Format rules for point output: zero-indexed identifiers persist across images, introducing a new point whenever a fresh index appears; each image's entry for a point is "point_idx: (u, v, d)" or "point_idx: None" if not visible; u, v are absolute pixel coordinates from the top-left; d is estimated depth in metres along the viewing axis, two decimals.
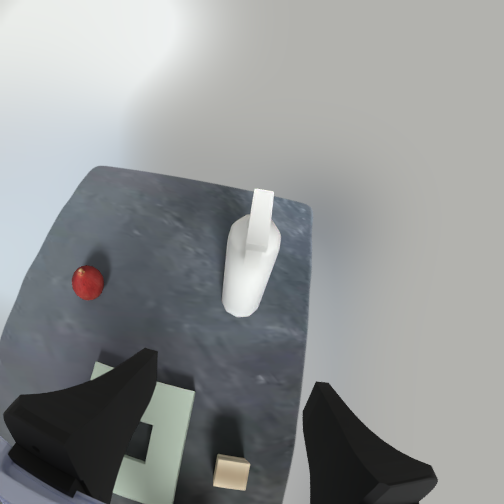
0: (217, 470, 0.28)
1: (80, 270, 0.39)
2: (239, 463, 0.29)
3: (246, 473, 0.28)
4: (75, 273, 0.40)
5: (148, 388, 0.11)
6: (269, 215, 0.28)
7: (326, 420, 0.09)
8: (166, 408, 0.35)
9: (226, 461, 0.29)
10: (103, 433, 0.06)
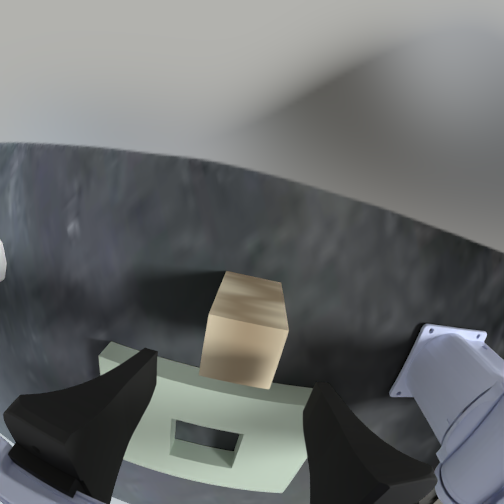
0: (228, 379, 0.15)
1: None
2: (207, 336, 0.14)
3: (236, 324, 0.14)
4: None
5: (148, 388, 0.11)
6: None
7: (326, 420, 0.09)
8: None
9: (203, 361, 0.15)
10: (103, 433, 0.06)
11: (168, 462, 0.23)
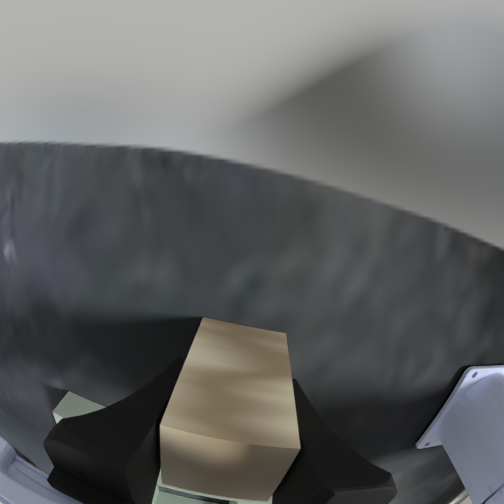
0: (205, 491, 0.08)
1: None
2: (164, 449, 0.07)
3: (209, 441, 0.07)
4: None
5: None
6: None
7: None
8: None
9: (165, 472, 0.07)
10: (150, 450, 0.06)
11: None
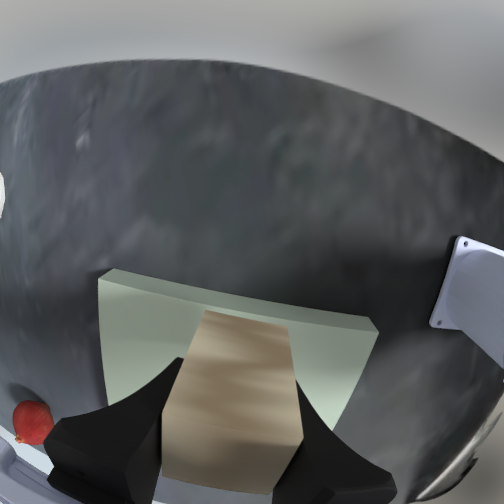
0: (206, 484, 0.08)
1: None
2: (166, 438, 0.07)
3: (212, 429, 0.07)
4: None
5: None
6: None
7: None
8: (142, 333, 0.19)
9: (165, 463, 0.07)
10: (150, 450, 0.06)
11: None
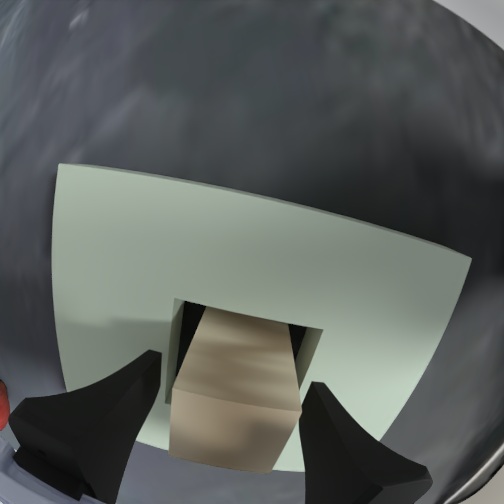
0: (210, 463, 0.09)
1: None
2: (174, 415, 0.08)
3: (218, 404, 0.08)
4: None
5: (152, 389, 0.11)
6: None
7: (321, 420, 0.09)
8: (111, 251, 0.11)
9: (172, 442, 0.08)
10: (109, 435, 0.06)
11: (162, 421, 0.14)
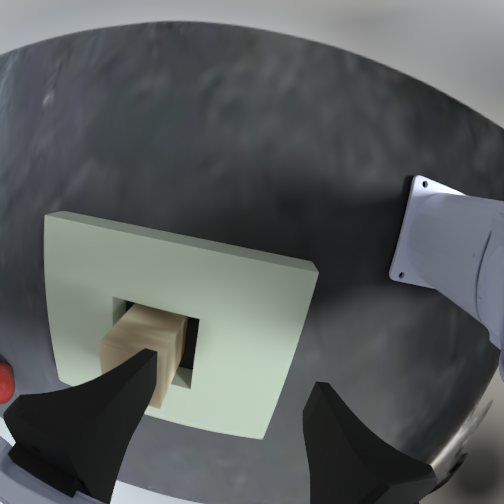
0: None
1: None
2: (102, 360, 0.15)
3: (119, 352, 0.14)
4: None
5: (148, 388, 0.11)
6: None
7: (326, 420, 0.09)
8: (77, 268, 0.18)
9: None
10: (103, 433, 0.06)
11: None
